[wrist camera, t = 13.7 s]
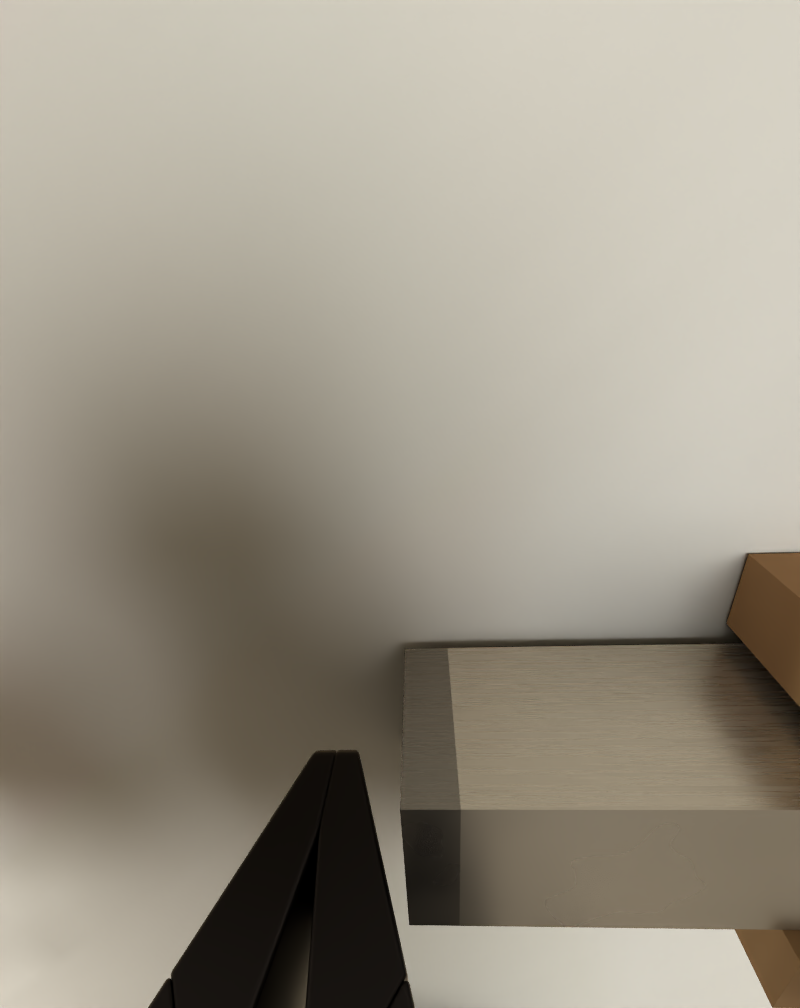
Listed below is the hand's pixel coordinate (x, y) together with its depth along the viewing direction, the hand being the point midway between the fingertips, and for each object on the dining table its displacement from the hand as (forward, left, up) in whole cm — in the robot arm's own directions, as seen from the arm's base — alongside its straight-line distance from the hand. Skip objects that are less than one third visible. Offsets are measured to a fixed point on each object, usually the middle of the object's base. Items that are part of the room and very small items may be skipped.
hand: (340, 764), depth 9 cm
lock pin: (+8, 0, -2) cm, 8 cm away
